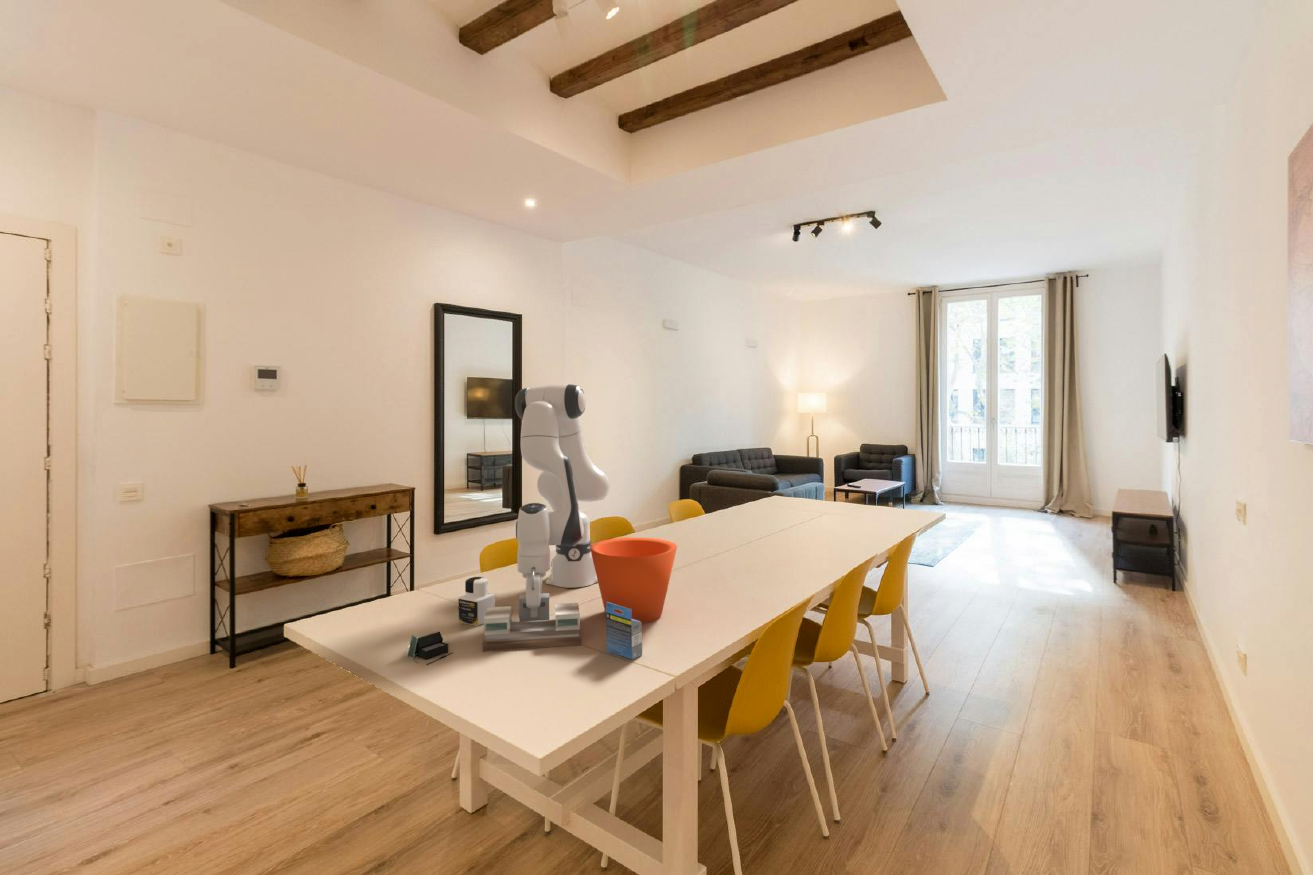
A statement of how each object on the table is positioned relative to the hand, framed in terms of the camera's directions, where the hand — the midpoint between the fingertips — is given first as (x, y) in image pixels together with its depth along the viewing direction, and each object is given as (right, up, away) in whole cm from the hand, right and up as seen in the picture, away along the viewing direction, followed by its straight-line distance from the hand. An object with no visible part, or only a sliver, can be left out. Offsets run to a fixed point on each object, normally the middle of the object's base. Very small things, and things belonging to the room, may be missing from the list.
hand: (534, 613), depth 170 cm
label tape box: (+26, -4, -20) cm, 33 cm away
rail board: (+2, -4, -11) cm, 11 cm away
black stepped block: (-21, -5, -20) cm, 29 cm away
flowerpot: (+27, -3, +9) cm, 28 cm away
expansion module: (0, -3, 0) cm, 3 cm away
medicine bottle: (-17, -3, +3) cm, 17 cm away
